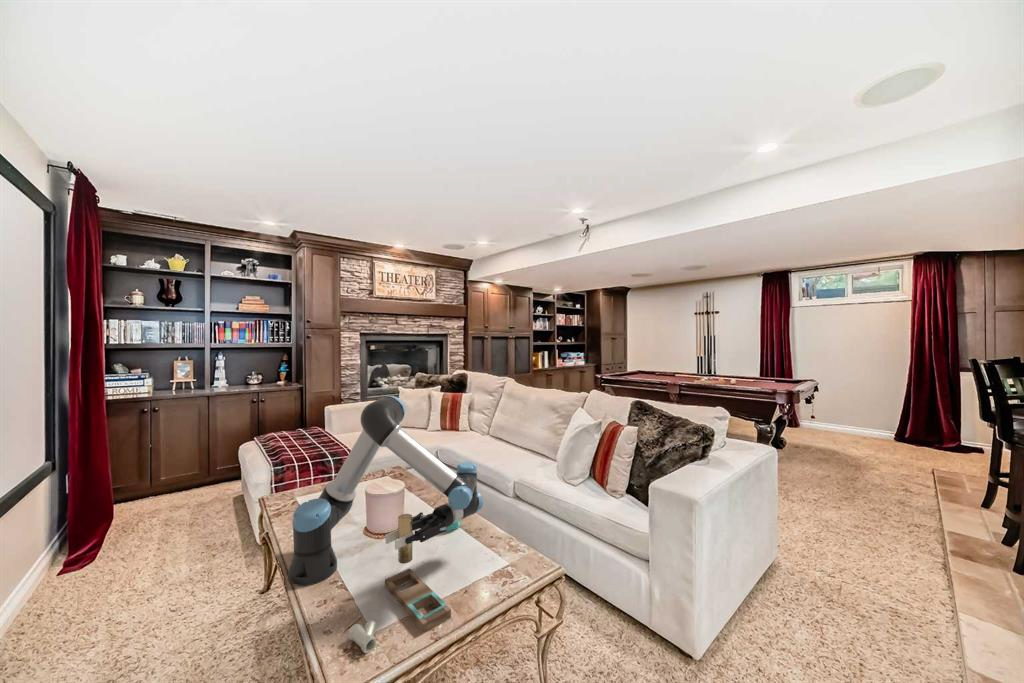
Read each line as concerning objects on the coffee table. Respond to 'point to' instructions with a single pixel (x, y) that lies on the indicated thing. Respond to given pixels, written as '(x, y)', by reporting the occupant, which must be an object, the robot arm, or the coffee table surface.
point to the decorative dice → (453, 526)
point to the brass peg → (403, 530)
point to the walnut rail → (418, 600)
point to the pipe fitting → (364, 636)
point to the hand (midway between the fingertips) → (390, 542)
